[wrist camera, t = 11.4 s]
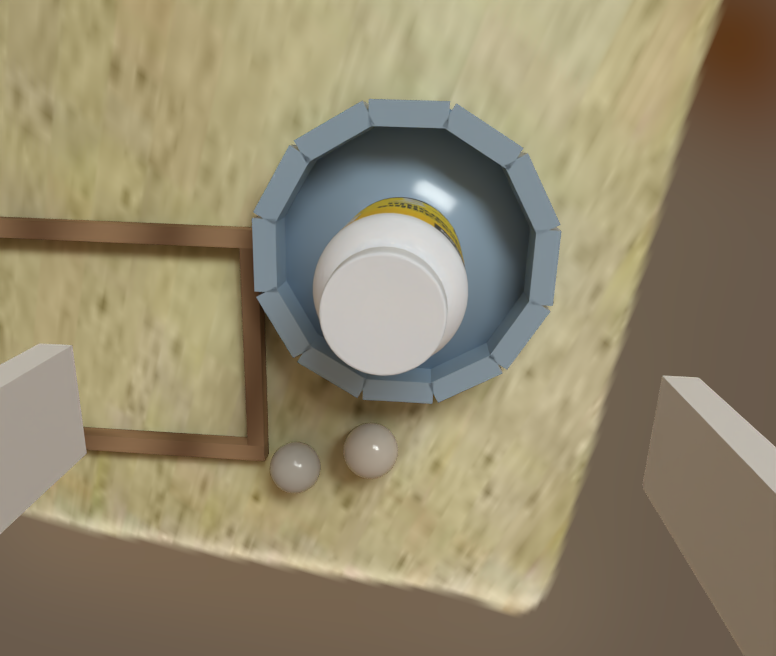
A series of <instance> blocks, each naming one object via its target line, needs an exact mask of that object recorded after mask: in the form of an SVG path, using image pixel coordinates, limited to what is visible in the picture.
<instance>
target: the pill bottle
mask: <svg viewBox="0 0 776 656" xmlns="http://www.w3.org/2000/svg"><path fill="white" fill-rule="evenodd" d="M313 299H314V305H315V309H316V312H317V315H318V318H319V321H320V326H321V330H322V332H323V335H324V338H325V340H326V342H327V344H328V345H329V347H330V348H331V349H332V351H333V352H334V353H335V354H336V355H337V356H338V357H339V358H340V359H341V360H342V361H344V362H345V363H346V364H347V365H349V366H351V367H353V368H354V369H357V370H359V371H361V372H364V373H368V374H372V375H381V376H387V375H396V374H400V373H404V372H407V371H409V370H412V369H414V368H416V367H418V366H419V365H421V364H422V363H424V362H425V361H426V360H427V359H428V358H429V357H431V356H432V355H434V354H435V353H437V352H438V351H439V350H441V349H442V348H443V347H444V346H445V345H446V344H447V343H448V342H449V341H450V340H451V338H452V337H453V336H454V334H455V333H456V331H457V330H458V328H459V326H460V324H461V322H462V320H463V317H464V314H465V311H466V307H467V300H468V281H467V274H466V270H465V265H464V260H463V256H462V251H461V246H460V243H459V239H458V236H457V234H456V232H455V230H454V228H453V226H452V225H451V223H450V222H449V221H448V219H447V218H446V217H445V216H444V215H443V214H442V213H441V212H440V211H438V210H437V209H436V208H434V207H433V206H431V205H429V204H427V203H425V202H423V201H420V200H417V199H413V198H408V197H392V198H387V199H383V200H380V201H377V202H375V203H373V204H371V205H369V206H367V207H366V208H364V209H363V210H362V211H360V212H359V213H358V214H357V215H356V216H355V217H354V218H353V219H352V220H351V221H350V222H348V223H347V224H346V225H345V226H344V227H343V228H342V229H341V230H340V231H339V232H338V233H337V234H336V235H335V236H334V237H333V238H332V240H331V241H330V242H329V243H328V245H327V246H326V247H325V249H324V251H323V253H322V254H321V256H320V258H319V261H318V263H317V266H316V270H315V274H314V279H313Z"/></svg>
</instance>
